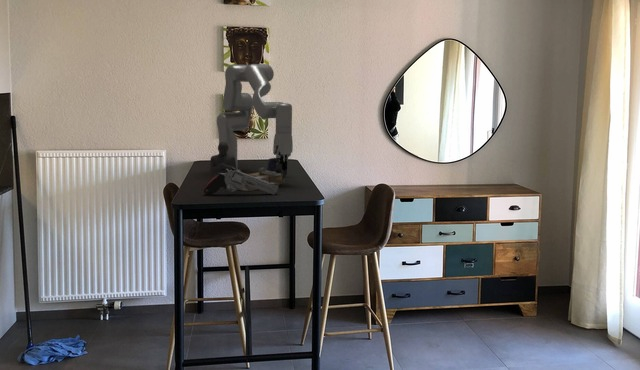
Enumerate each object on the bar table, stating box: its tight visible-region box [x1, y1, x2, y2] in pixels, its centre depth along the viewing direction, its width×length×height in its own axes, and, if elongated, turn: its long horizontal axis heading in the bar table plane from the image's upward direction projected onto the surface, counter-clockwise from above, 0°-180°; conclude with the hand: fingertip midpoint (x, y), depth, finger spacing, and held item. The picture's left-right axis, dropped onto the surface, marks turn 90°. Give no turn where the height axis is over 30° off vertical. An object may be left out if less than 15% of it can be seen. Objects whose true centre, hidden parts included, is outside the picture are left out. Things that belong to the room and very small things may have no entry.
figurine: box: [209, 142, 236, 178], centre depth 320 cm, size 12×8×20 cm, turn 92°
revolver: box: [203, 167, 280, 196], centre depth 294 cm, size 4×29×15 cm, turn 96°
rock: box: [266, 157, 288, 178], centre depth 345 cm, size 10×6×10 cm, turn 142°
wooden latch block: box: [227, 171, 283, 192], centre depth 317 cm, size 14×26×5 cm, turn 149°
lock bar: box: [258, 163, 282, 176], centre depth 320 cm, size 15×3×6 cm, turn 44°
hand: (283, 169), depth 319 cm, fingers closed
